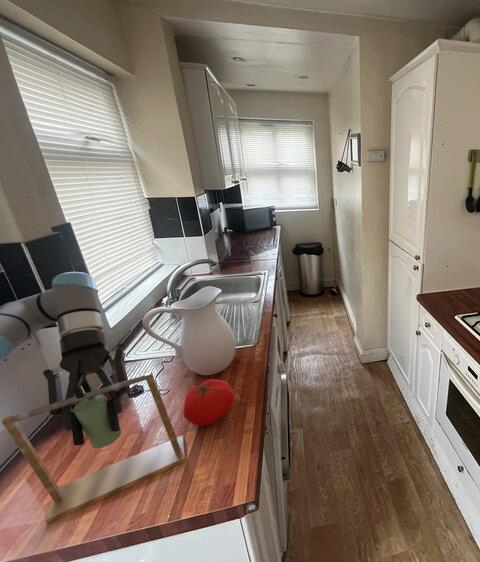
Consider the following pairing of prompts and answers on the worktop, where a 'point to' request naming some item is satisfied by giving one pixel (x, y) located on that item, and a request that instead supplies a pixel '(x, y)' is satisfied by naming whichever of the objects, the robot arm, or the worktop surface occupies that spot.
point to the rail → (109, 477)
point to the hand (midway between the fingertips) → (97, 437)
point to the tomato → (208, 402)
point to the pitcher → (199, 332)
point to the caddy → (93, 415)
